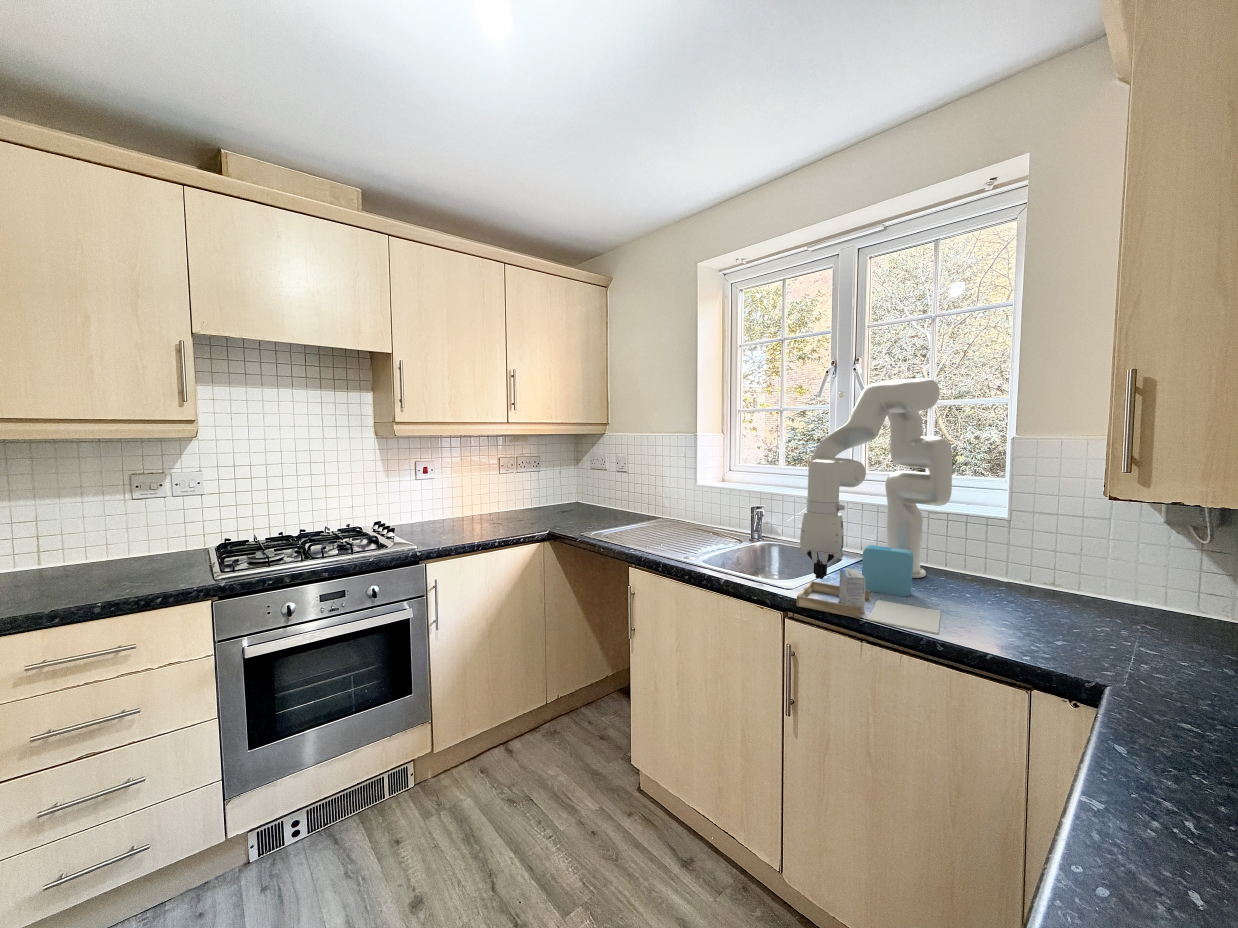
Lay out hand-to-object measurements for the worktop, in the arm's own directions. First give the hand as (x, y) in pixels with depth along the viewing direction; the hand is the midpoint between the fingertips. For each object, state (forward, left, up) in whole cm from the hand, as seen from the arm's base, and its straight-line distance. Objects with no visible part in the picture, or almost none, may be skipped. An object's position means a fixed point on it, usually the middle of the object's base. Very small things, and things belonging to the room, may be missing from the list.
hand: (820, 577), depth 134 cm
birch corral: (0, +4, -6) cm, 7 cm away
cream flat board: (0, +20, -6) cm, 21 cm away
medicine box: (0, +8, -6) cm, 10 cm away
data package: (-18, +14, -6) cm, 23 cm away
